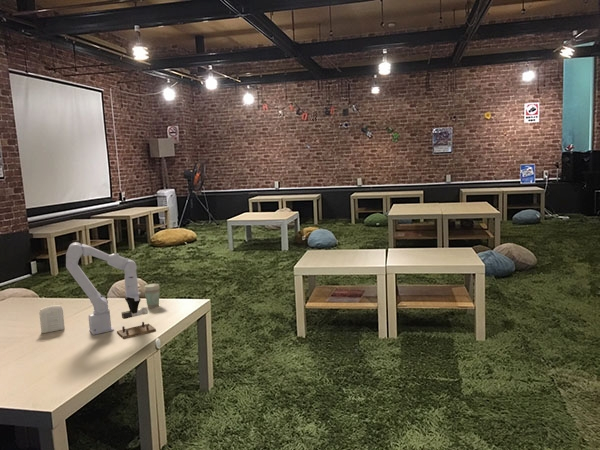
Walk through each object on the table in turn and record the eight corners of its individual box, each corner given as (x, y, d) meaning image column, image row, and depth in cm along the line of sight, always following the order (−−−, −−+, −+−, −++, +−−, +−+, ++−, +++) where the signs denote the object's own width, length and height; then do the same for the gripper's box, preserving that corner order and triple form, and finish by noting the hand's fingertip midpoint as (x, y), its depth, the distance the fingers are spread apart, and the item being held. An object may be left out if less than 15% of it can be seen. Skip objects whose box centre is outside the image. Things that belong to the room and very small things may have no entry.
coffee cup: (151, 309, 272) (149, 288, 270) (142, 307, 277) (140, 286, 275) (164, 305, 278) (162, 284, 277) (155, 303, 284) (153, 282, 282)
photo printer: (64, 327, 249) (61, 302, 248) (65, 329, 246) (62, 304, 244) (40, 331, 244) (37, 307, 242) (42, 334, 240) (39, 309, 238)
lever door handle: (123, 319, 242) (123, 313, 241) (121, 317, 244) (121, 312, 244) (148, 313, 248) (148, 308, 248) (146, 312, 251) (145, 306, 251)
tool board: (123, 338, 229) (122, 332, 228) (117, 332, 237) (116, 326, 237) (155, 330, 237) (155, 324, 237) (148, 325, 246) (148, 319, 245)
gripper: (144, 286, 240) (146, 314, 242) (135, 280, 252) (137, 307, 254) (129, 289, 236) (132, 317, 238) (120, 283, 248) (123, 310, 250)
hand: (133, 312), depth 246 cm, fingers closed on lever door handle, 3 cm apart
